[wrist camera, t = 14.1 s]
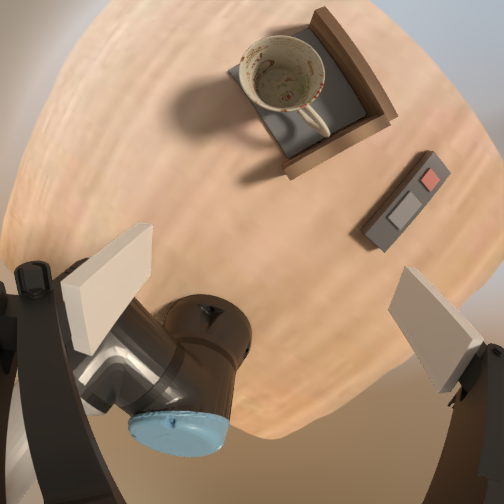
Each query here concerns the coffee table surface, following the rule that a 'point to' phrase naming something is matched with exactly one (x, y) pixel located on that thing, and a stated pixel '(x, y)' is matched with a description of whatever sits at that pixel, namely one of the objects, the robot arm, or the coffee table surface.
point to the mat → (313, 105)
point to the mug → (284, 77)
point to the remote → (406, 201)
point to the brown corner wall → (363, 87)
